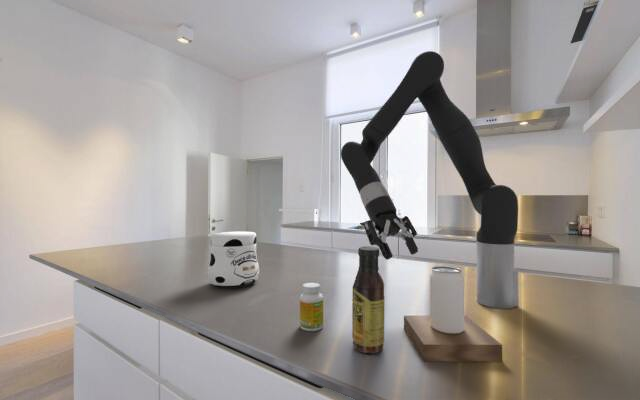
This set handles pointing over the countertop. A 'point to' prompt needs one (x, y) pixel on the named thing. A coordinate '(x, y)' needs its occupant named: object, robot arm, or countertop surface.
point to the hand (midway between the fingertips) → (402, 255)
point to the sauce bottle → (368, 303)
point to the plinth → (452, 342)
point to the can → (447, 300)
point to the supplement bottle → (311, 307)
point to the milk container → (233, 259)
